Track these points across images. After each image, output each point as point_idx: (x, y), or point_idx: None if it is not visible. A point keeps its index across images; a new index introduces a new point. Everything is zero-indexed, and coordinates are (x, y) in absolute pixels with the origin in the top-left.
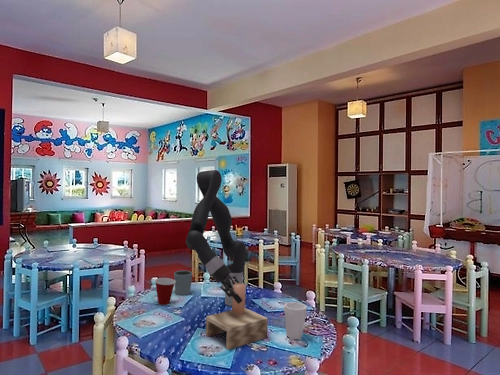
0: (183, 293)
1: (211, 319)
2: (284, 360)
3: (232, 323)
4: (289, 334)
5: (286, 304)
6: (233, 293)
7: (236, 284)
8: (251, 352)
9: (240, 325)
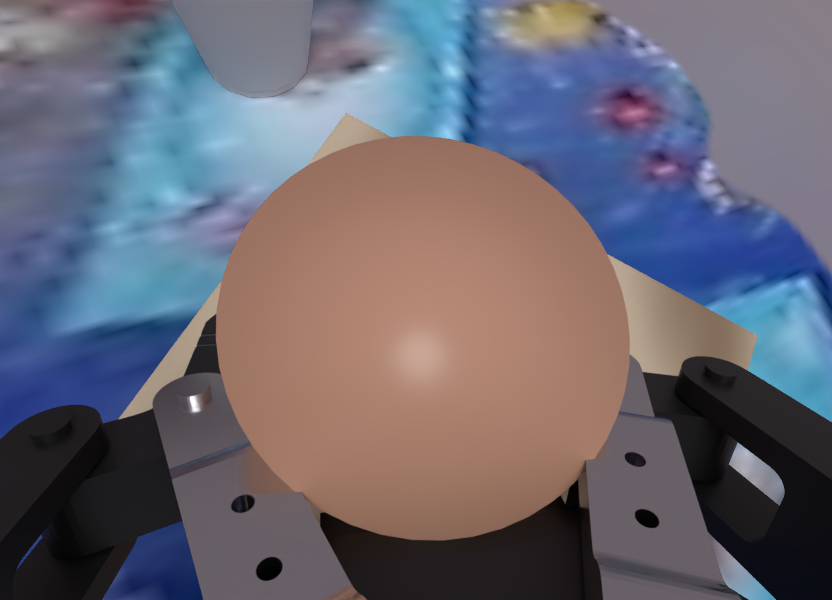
0: None
1: None
2: (581, 63)
3: (640, 359)
4: (304, 55)
5: None
6: (719, 360)
7: (422, 425)
8: (597, 231)
9: (636, 275)
